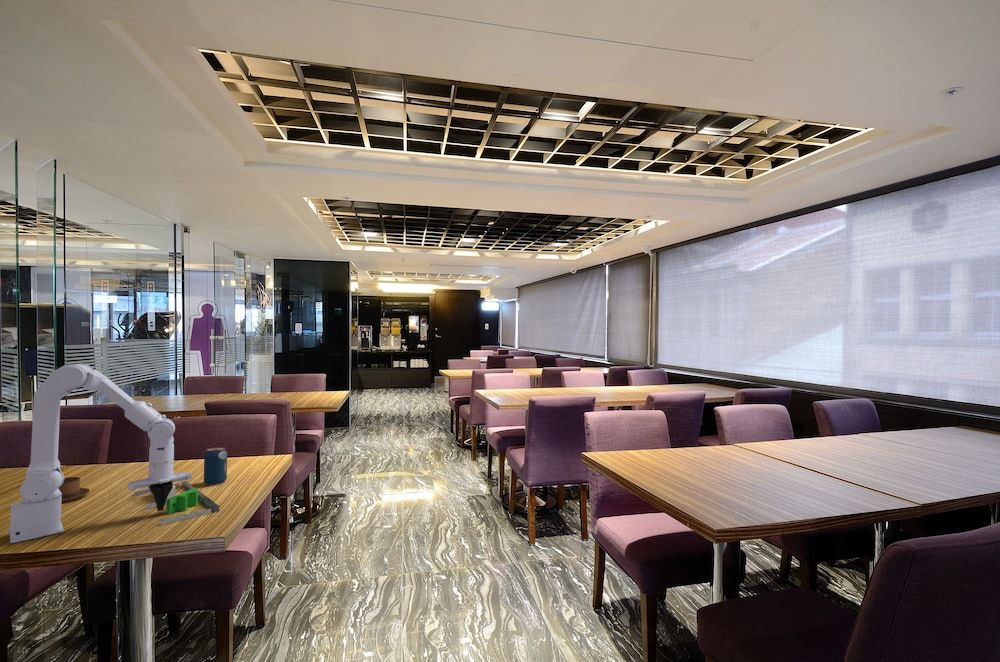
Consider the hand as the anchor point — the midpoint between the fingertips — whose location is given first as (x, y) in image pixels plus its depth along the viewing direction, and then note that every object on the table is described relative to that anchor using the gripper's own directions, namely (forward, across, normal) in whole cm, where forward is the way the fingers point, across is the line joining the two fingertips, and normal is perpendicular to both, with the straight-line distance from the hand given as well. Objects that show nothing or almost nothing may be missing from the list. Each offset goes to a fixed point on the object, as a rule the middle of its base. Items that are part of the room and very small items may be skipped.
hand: (160, 509), depth 130 cm
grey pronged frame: (+1, +5, +9) cm, 11 cm away
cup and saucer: (+2, -18, +39) cm, 43 cm away
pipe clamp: (+2, +6, +1) cm, 7 cm away
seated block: (+1, +4, +18) cm, 19 cm away
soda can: (+2, +20, +23) cm, 31 cm away
